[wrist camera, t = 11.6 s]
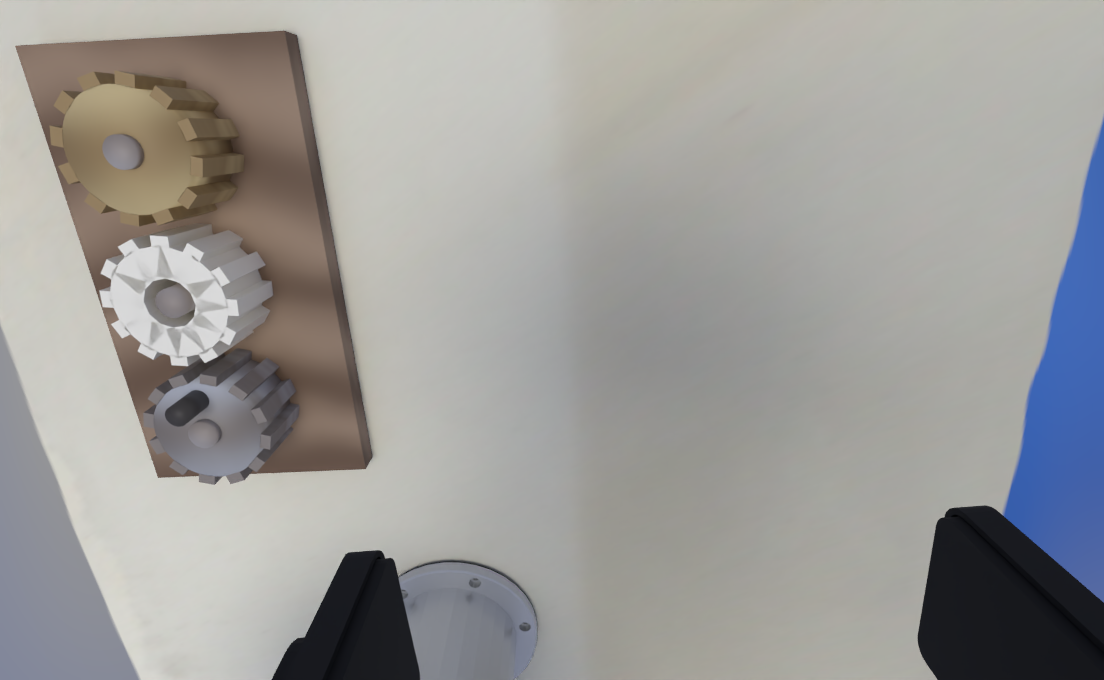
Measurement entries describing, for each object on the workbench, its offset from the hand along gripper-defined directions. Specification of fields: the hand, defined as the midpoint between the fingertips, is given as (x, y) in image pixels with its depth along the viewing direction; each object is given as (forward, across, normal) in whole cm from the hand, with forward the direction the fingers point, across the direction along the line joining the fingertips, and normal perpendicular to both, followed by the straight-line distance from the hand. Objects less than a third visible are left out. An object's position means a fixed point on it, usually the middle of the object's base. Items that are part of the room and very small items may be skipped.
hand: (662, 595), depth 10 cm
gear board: (+27, +22, -1) cm, 35 cm away
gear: (+25, +22, -1) cm, 34 cm away
